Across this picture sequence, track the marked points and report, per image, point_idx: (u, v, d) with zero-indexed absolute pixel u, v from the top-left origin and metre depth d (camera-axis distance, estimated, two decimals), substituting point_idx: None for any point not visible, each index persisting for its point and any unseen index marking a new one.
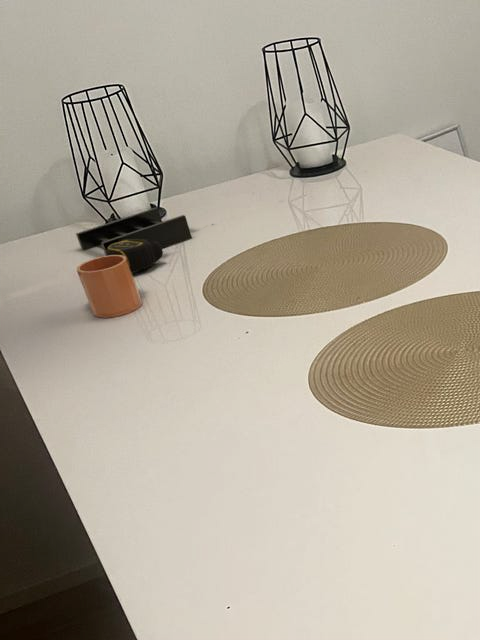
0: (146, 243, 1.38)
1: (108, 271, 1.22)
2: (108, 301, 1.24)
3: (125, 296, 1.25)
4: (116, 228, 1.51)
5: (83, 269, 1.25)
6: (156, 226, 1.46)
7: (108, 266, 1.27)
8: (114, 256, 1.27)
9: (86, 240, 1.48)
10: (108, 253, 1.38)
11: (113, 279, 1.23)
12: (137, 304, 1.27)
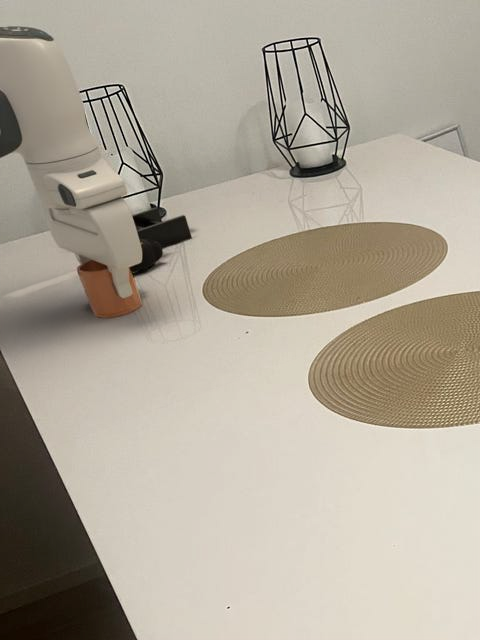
0: (146, 243, 1.38)
1: (108, 271, 1.22)
2: (108, 301, 1.24)
3: None
4: None
5: (83, 269, 1.25)
6: (156, 226, 1.46)
7: None
8: None
9: None
10: None
11: None
12: (137, 304, 1.27)
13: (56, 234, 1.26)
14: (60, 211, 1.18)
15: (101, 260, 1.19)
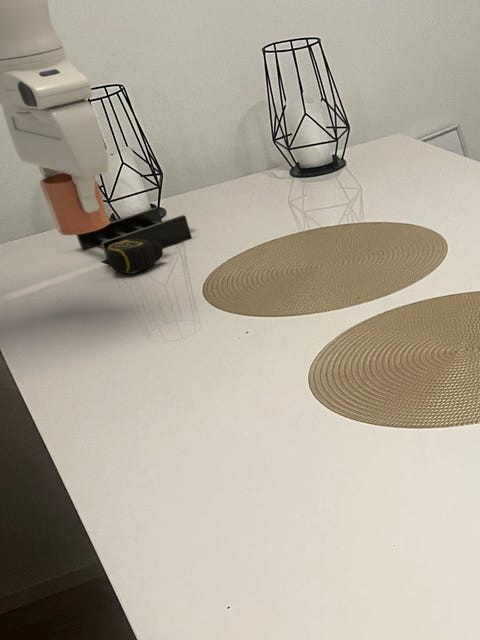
0: (146, 243, 1.38)
1: (73, 183, 1.16)
2: (73, 216, 1.18)
3: (91, 212, 1.18)
4: (116, 228, 1.51)
5: (47, 183, 1.18)
6: (156, 226, 1.46)
7: None
8: None
9: (86, 240, 1.48)
10: (108, 253, 1.38)
11: None
12: (104, 222, 1.20)
13: (19, 146, 1.19)
14: (21, 115, 1.11)
15: (65, 169, 1.13)
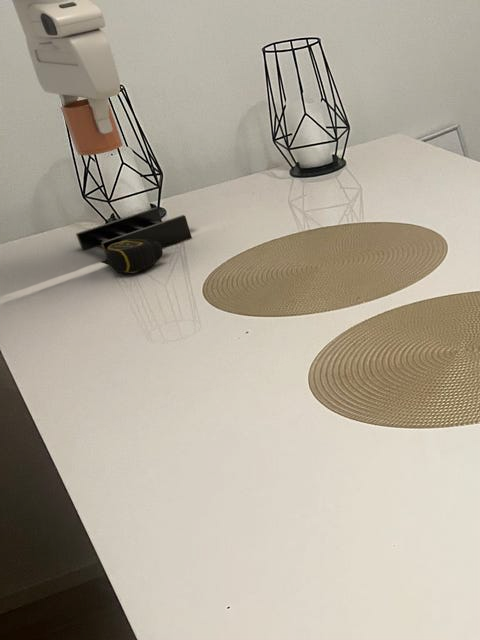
0: (146, 243, 1.38)
1: (90, 107, 1.31)
2: (90, 138, 1.33)
3: (106, 134, 1.33)
4: (116, 228, 1.51)
5: None
6: (156, 226, 1.46)
7: None
8: None
9: (86, 240, 1.48)
10: (108, 253, 1.38)
11: None
12: (118, 143, 1.35)
13: (42, 77, 1.35)
14: (44, 45, 1.26)
15: (82, 93, 1.28)
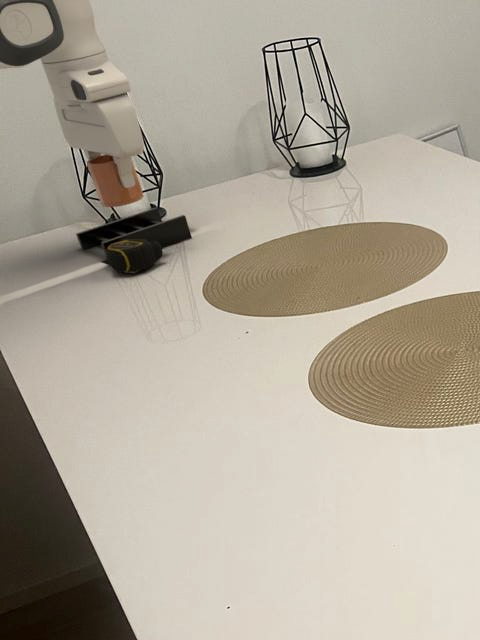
0: (146, 243, 1.38)
1: (114, 163, 1.40)
2: (114, 191, 1.42)
3: None
4: (116, 228, 1.51)
5: (92, 164, 1.43)
6: (156, 226, 1.46)
7: None
8: None
9: (86, 240, 1.48)
10: (108, 253, 1.38)
11: None
12: (139, 195, 1.45)
13: (68, 133, 1.44)
14: (72, 107, 1.35)
15: (108, 151, 1.37)
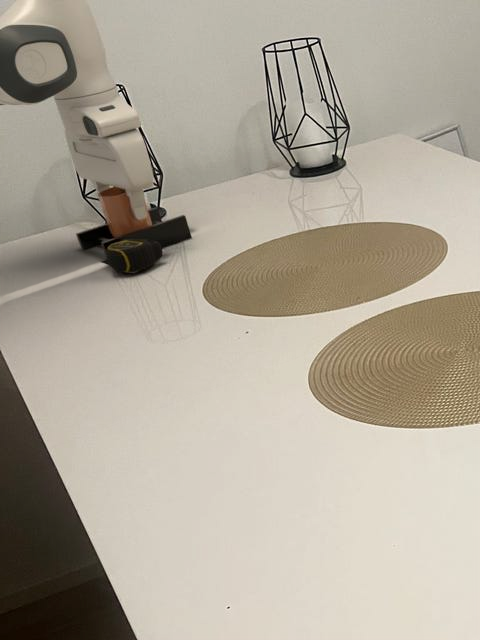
0: (146, 243, 1.38)
1: (125, 196, 1.43)
2: (124, 222, 1.45)
3: None
4: None
5: (103, 195, 1.46)
6: (156, 226, 1.46)
7: None
8: None
9: (86, 240, 1.48)
10: (108, 253, 1.38)
11: (129, 203, 1.44)
12: None
13: (79, 165, 1.46)
14: (83, 141, 1.38)
15: (118, 184, 1.40)
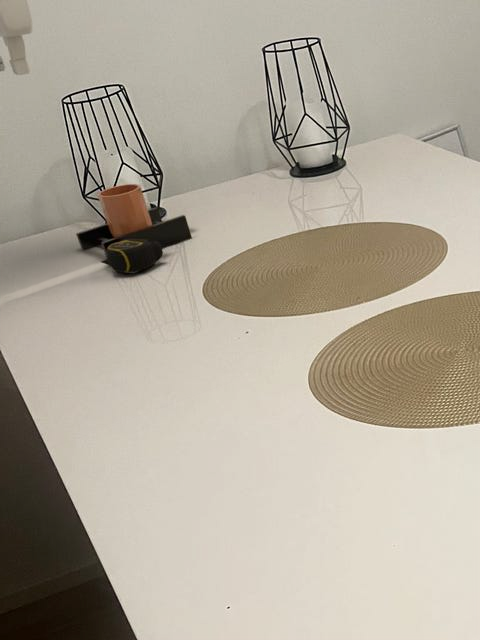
0: (146, 243, 1.38)
1: (125, 196, 1.43)
2: (124, 222, 1.45)
3: (139, 219, 1.45)
4: None
5: (103, 195, 1.46)
6: (156, 226, 1.46)
7: None
8: (129, 185, 1.47)
9: (86, 240, 1.48)
10: (108, 253, 1.38)
11: (129, 203, 1.44)
12: None
13: None
14: None
15: None
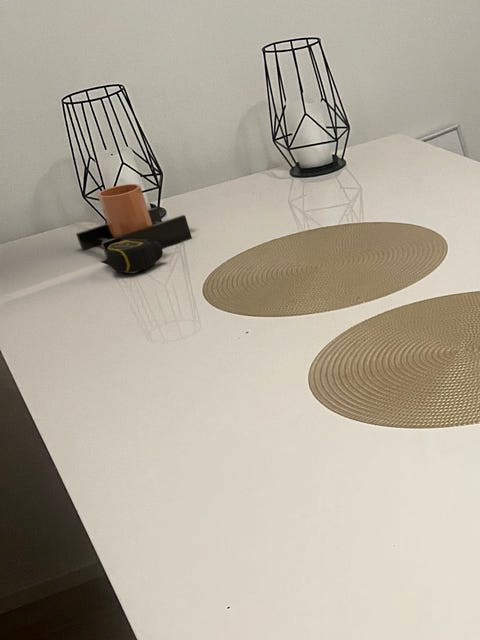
0: (146, 243, 1.38)
1: (125, 196, 1.43)
2: (124, 222, 1.45)
3: (139, 219, 1.45)
4: None
5: (103, 195, 1.46)
6: (156, 226, 1.46)
7: None
8: (129, 185, 1.47)
9: (86, 240, 1.48)
10: (108, 253, 1.38)
11: (129, 203, 1.44)
12: None
13: None
14: None
15: None
